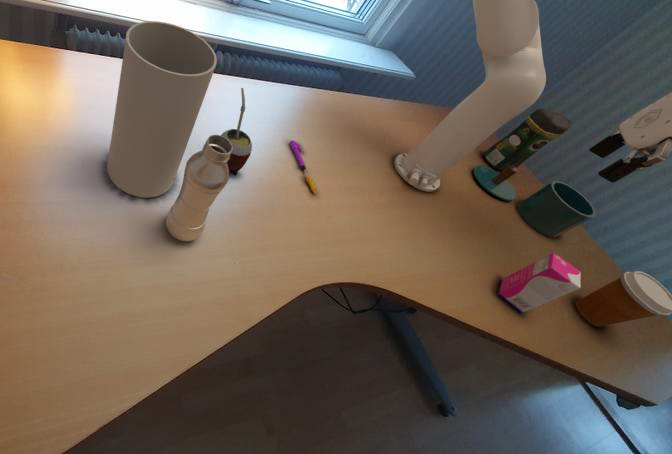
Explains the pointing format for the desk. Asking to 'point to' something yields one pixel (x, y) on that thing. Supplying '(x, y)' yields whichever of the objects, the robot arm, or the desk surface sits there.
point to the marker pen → (302, 163)
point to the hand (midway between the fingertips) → (600, 165)
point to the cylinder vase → (157, 105)
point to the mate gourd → (238, 144)
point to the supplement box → (539, 283)
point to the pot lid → (496, 181)
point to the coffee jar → (527, 139)
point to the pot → (556, 209)
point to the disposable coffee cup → (626, 300)
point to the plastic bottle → (199, 188)
